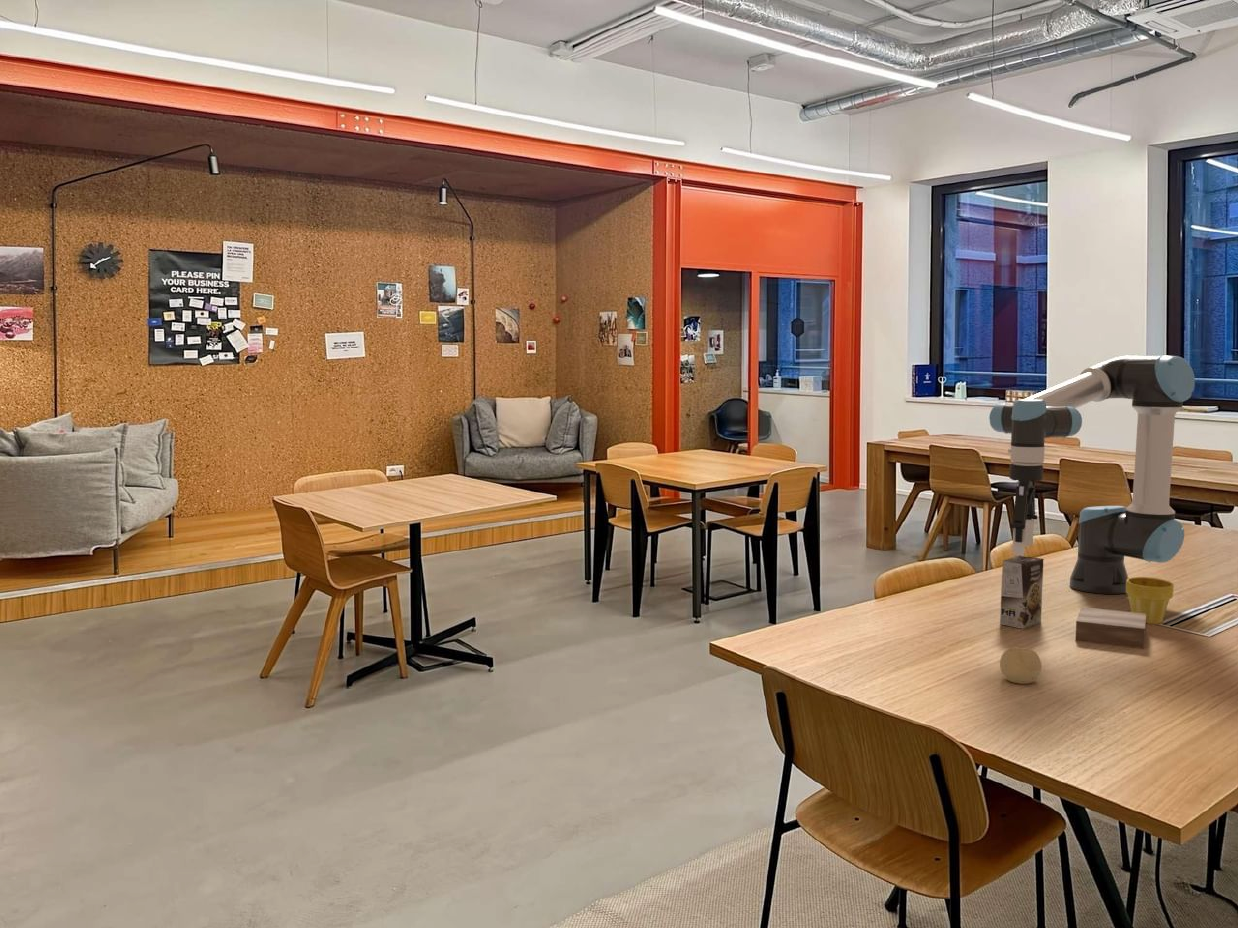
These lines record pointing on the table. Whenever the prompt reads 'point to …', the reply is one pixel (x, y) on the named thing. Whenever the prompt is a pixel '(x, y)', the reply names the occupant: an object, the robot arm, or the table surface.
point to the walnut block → (1111, 627)
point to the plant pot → (1149, 597)
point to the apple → (1020, 665)
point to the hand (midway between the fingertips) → (1022, 550)
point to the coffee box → (1021, 591)
